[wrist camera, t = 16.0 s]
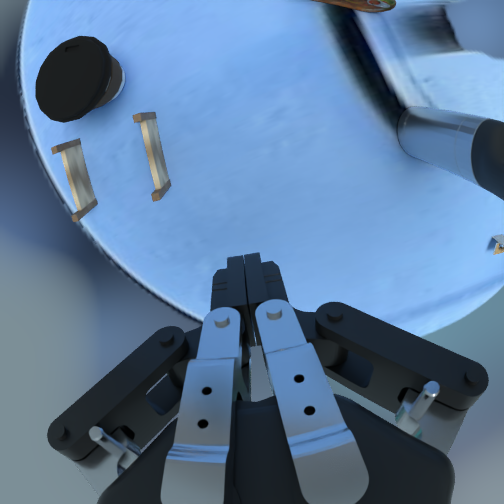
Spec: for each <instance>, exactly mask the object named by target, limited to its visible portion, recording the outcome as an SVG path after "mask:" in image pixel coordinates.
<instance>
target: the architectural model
mask: <svg viewBox="0 0 504 504" xmlns="http://www.w3.org/2000/svg"><path fill="white" fill-rule="evenodd" d="M492 238H494V239H495V240H496V241H497V243H496V246H495V249H494V252H493V254H494V255H495V254H499V253H503V252H504V247H502V246H501V245H500V244H502V245H503V246H504V236H503V235H496V236H492ZM499 245H500V248H499Z"/></svg>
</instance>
